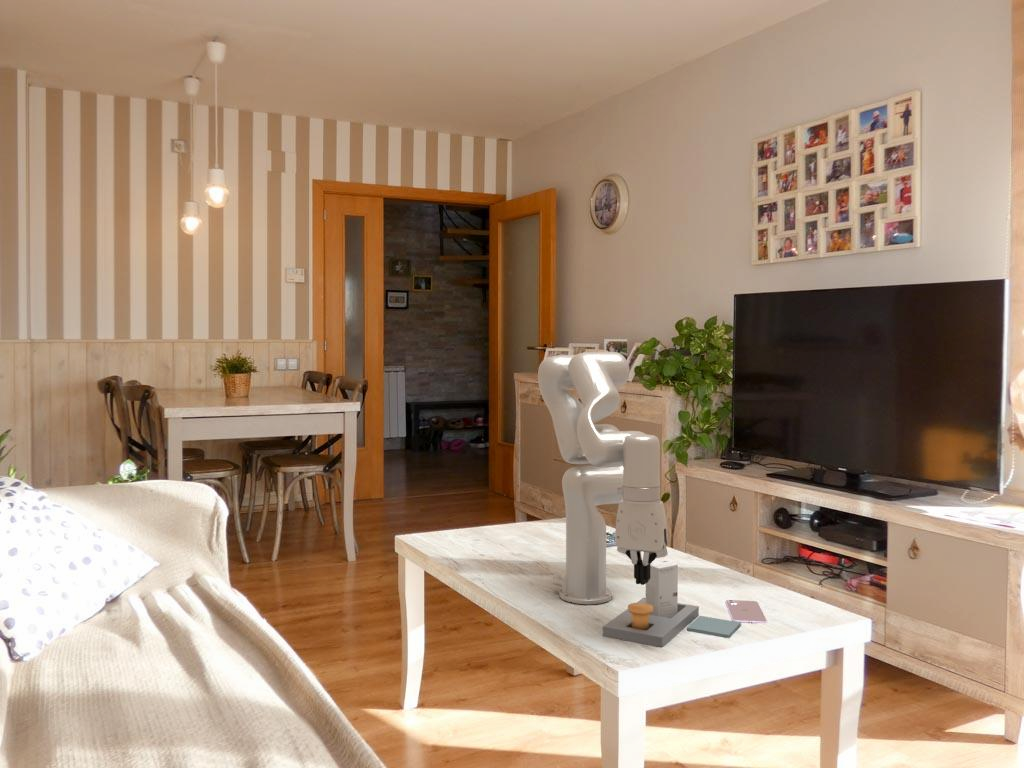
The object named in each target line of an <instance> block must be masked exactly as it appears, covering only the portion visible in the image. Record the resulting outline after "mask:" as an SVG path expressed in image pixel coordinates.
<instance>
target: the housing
mask: <svg viewBox="0 0 1024 768" xmlns="http://www.w3.org/2000/svg"><path fill="white" fill-rule="evenodd" d="M636 603H646V597H643V598H641V599H640V600H638V601H637V602H636ZM699 608H700V606H698V605H693V604H687V603H680V602H677V614H676V615H675V616H673V617H672V618H666V617H660V616H654V615H649V629H647V630H641V629H635V628H632V613H631V612H629V611H628V608H627V609H625V610H623V611H622V612H621V613H620V614H618V615H617V616H616V617H613V619H611V620H610V621H608V622H607V623H605V624H603V626H602V637H607V638H612V639H617V640H623V641H628V642H633V643H638V644H643V645H647V646H654V647H659V648H663V647H664V646H666V645H667V644H668V643H669V642H670V641H671V640H672V639H673V638H675V636H677V635H678V634H679V633H680V632H681V631H683V630H684V629H685V628H687V627H688V626H689V625H690V624H691V623H692V621H693V622H694V621H695V620H696V619H697V618H698V617H699V616H700V613H699V611H700V609H699Z"/></svg>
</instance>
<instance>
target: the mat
mask: <svg viewBox="0 0 1024 768" xmlns="http://www.w3.org/2000/svg"><path fill="white" fill-rule="evenodd" d="M741 626H742V623H741V622H735V621H732V620H727V619H722V618H716V617H710V616H704V615H698V616H697V617H696V618H695V619H694V620H693V622H690V623H689V624H688V625H687V626H686V631H689V632H693V633H694V632H695V633H699V634H705V635H710V636H717V637H721V638H728V639H729V638H731V637H732V636H733V634H734V633H735V632H736V631H737V630H738V629H739V628H740V627H741Z"/></svg>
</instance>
